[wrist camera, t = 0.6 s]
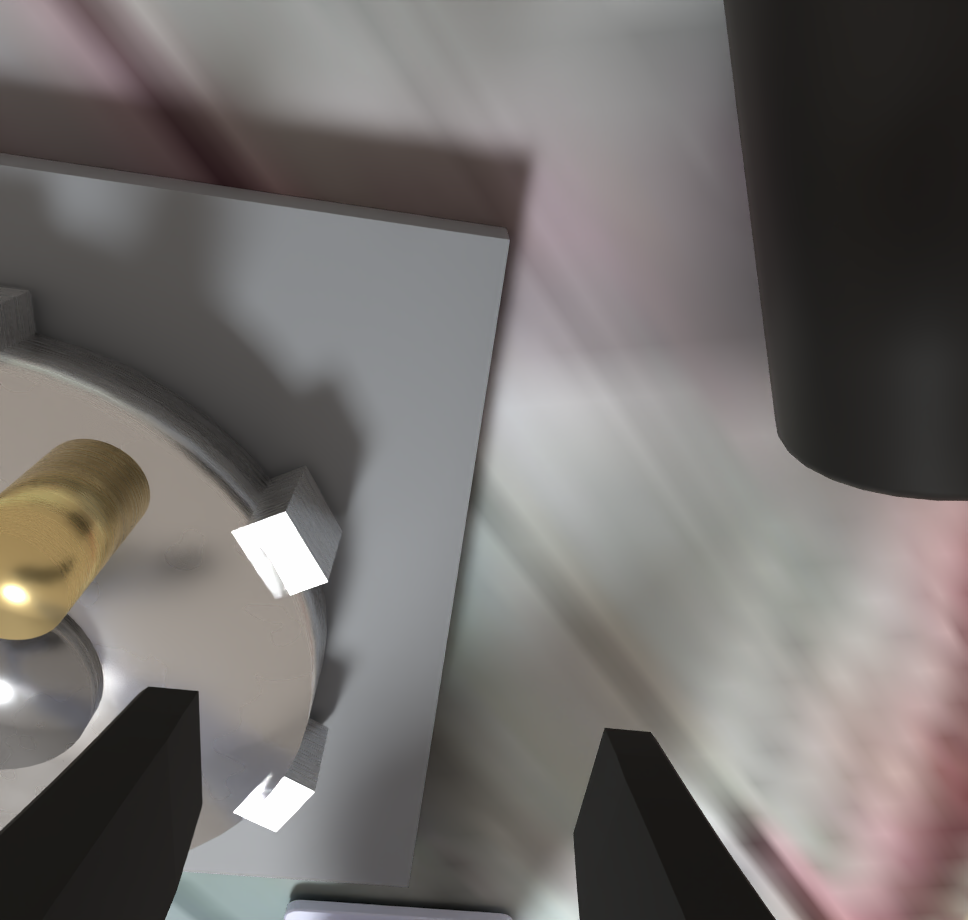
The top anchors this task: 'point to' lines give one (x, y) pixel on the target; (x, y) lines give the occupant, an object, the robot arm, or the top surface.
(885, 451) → the electric motor
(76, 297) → the base plate
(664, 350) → the top surface
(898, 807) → the top surface
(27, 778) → the lugged metal disc
